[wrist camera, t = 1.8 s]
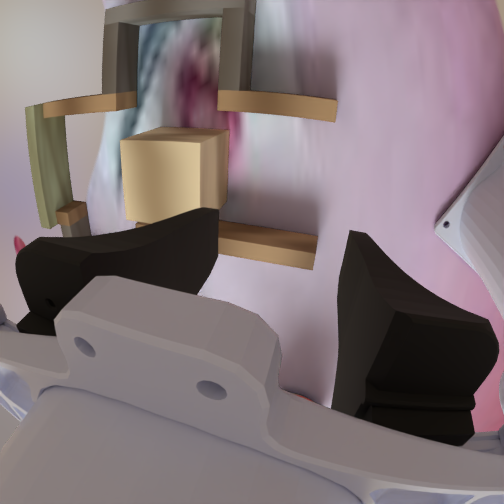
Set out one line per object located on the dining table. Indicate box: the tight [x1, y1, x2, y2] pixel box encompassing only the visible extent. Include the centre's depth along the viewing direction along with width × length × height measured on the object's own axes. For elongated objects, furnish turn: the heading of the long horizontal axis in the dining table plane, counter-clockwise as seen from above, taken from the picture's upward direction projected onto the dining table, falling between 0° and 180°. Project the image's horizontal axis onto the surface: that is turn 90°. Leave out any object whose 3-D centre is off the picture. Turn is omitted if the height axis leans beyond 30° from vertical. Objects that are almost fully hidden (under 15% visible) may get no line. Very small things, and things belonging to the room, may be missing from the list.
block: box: [120, 127, 230, 224], centre depth 19 cm, size 5×5×5 cm
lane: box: [25, 0, 338, 270], centre depth 20 cm, size 22×23×4 cm
